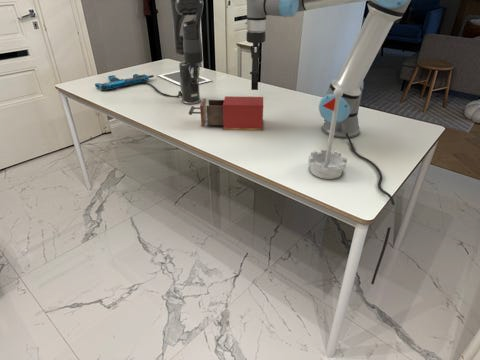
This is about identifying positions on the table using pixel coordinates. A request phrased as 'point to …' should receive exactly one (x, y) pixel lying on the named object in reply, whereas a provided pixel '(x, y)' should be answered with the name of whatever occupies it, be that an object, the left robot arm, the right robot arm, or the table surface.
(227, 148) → the table surface
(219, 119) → the drawer
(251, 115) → the cabinet
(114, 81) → the submachine gun
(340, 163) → the flag stand
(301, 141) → the table surface
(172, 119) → the table surface
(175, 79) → the tablet
